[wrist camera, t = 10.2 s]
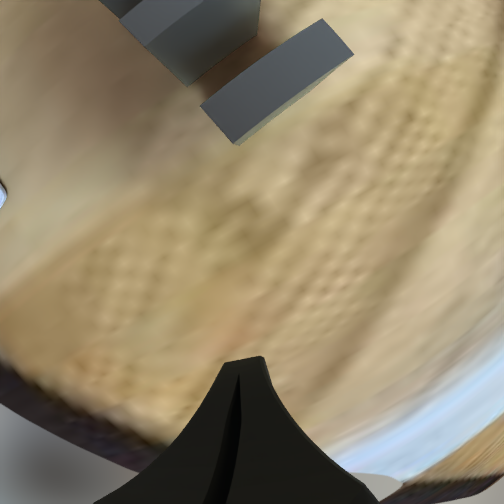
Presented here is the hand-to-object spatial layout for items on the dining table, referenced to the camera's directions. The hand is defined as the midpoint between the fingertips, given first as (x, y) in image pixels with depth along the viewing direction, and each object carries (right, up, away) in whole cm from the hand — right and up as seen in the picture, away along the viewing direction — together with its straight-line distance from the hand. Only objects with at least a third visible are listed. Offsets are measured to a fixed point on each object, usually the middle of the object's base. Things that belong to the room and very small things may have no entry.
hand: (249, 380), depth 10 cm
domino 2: (+1, +12, +6) cm, 14 cm away
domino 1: (-2, +16, +5) cm, 16 cm away
